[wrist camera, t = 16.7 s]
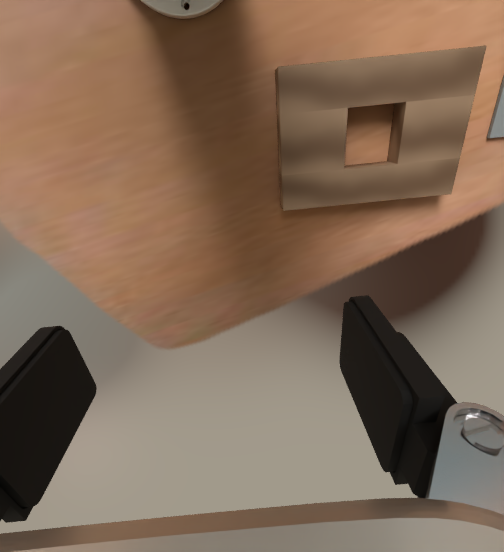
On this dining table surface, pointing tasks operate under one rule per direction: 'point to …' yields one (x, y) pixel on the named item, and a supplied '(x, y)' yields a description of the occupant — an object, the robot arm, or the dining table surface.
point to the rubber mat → (498, 116)
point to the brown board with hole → (404, 133)
